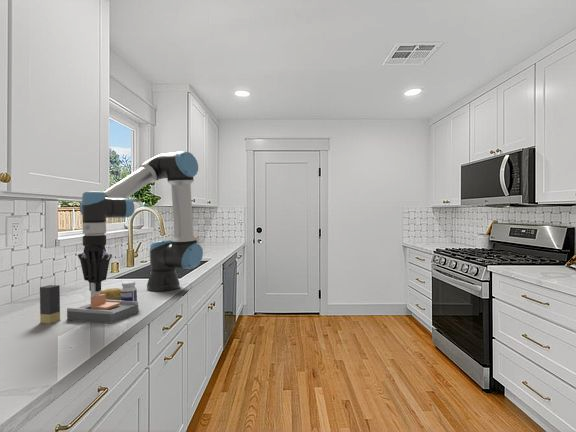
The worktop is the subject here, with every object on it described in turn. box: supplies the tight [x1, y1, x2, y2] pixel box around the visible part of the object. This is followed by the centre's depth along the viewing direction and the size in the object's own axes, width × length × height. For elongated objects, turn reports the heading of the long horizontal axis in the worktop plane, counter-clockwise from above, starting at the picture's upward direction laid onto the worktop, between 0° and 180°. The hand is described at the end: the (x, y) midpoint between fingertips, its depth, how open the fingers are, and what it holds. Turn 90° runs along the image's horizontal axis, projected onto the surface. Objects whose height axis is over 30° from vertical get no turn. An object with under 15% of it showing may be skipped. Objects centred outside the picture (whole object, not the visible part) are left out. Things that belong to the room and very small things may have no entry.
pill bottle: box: [120, 280, 138, 302], centre depth 145 cm, size 6×6×10 cm
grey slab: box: [66, 300, 139, 324], centre depth 133 cm, size 14×18×4 cm
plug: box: [39, 284, 61, 325], centre depth 127 cm, size 4×4×12 cm
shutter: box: [90, 294, 120, 310], centre depth 133 cm, size 7×7×4 cm
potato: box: [100, 287, 122, 300], centre depth 151 cm, size 7×11×6 cm, turn 118°
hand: (95, 300), depth 134 cm, fingers closed
